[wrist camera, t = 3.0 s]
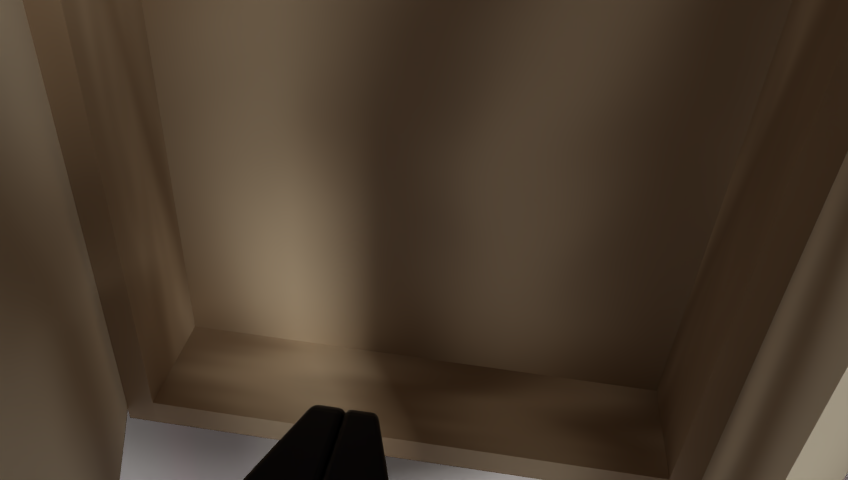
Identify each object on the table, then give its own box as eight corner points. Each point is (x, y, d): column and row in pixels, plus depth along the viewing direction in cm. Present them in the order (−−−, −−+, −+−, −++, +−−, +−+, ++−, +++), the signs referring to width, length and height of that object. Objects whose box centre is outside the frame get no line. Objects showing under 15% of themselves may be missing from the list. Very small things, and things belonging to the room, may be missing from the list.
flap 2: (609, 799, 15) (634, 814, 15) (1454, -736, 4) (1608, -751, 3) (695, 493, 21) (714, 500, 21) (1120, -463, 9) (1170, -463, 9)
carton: (987, -461, 12) (1140, -508, 9) (673, 393, 24) (691, 502, 21) (35, -514, 13) (-126, -572, 10) (183, 324, 25) (130, 417, 22)
